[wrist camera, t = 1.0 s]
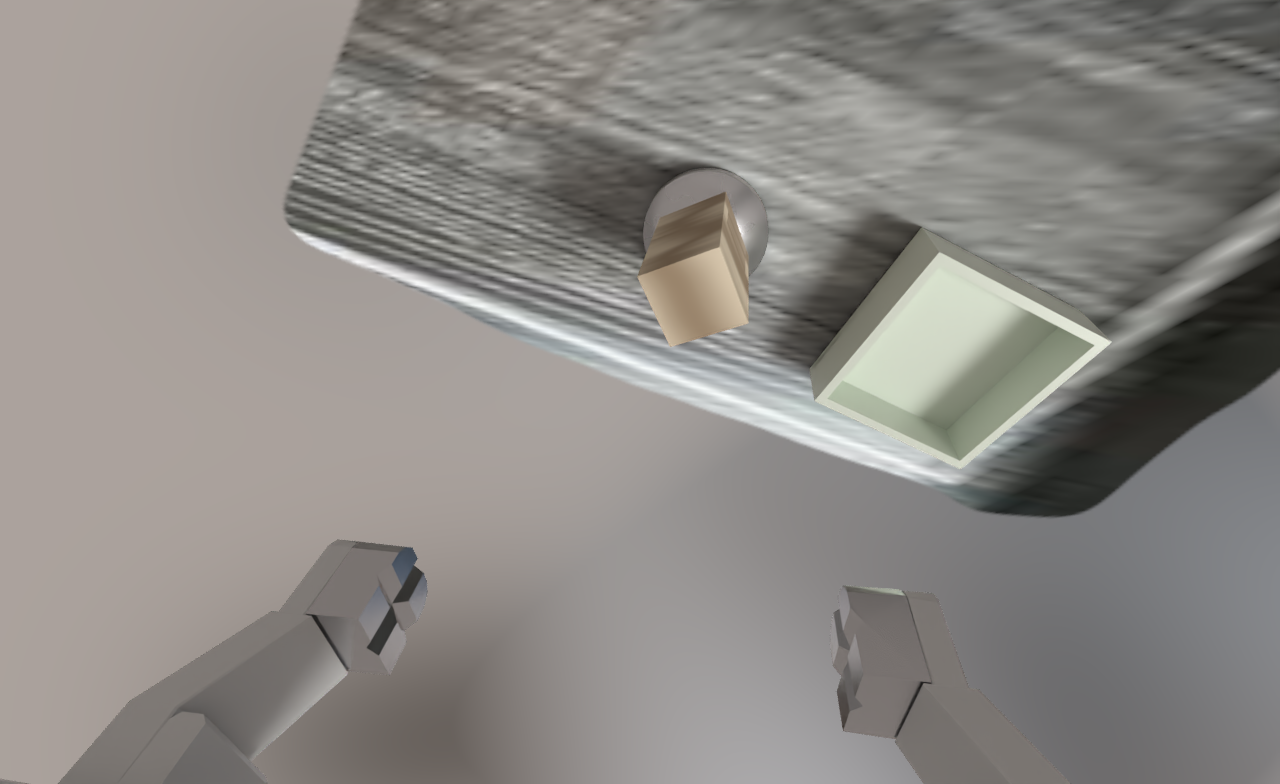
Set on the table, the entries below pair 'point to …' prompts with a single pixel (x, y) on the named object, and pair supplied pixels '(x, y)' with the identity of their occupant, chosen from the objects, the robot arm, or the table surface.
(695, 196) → the grey pot lid
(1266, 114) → the table surface
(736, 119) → the table surface
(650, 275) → the tan rectangular block
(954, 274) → the bin
